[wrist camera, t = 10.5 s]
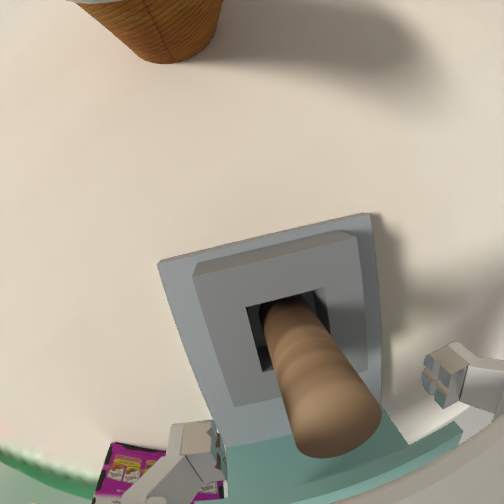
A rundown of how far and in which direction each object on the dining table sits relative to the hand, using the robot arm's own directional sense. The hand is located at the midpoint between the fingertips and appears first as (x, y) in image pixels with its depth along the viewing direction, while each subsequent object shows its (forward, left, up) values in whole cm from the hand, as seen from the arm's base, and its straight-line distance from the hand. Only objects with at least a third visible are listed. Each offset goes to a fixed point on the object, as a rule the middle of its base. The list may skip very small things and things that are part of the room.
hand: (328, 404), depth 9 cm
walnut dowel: (+1, 0, -10) cm, 10 cm away
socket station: (+5, 0, -11) cm, 12 cm away
